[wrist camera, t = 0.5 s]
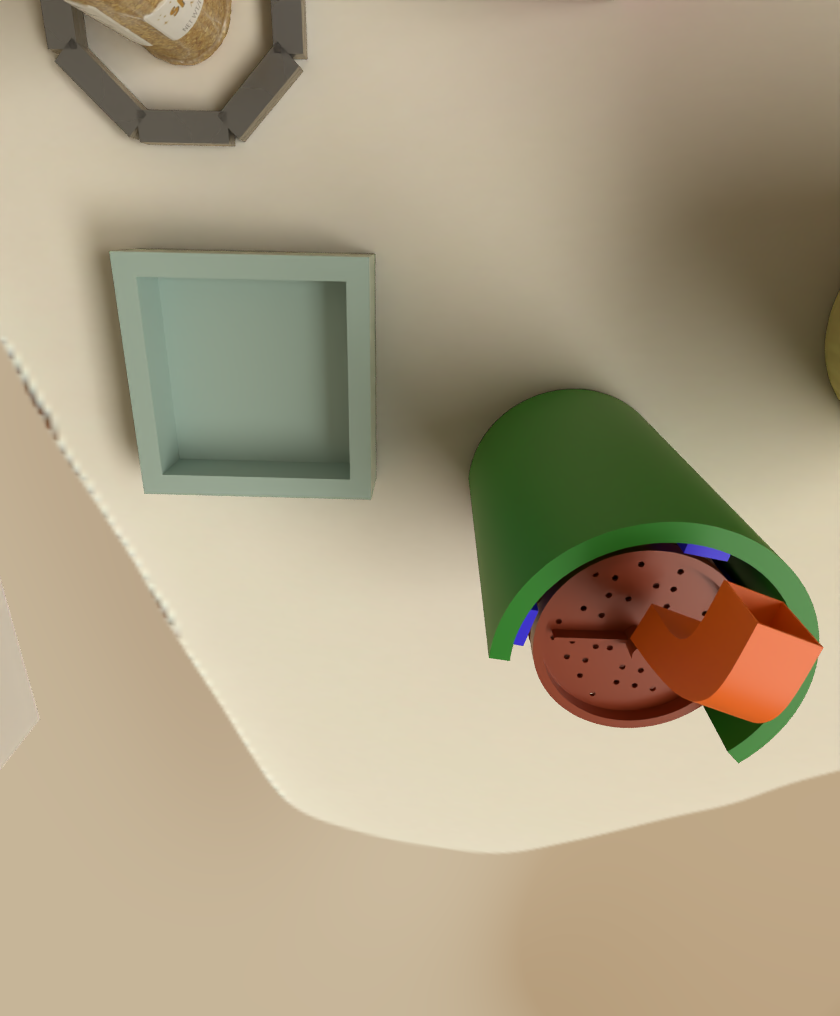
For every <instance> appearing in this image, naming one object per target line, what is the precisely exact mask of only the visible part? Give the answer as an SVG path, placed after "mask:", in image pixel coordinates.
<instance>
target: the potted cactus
mask: <svg viewBox="0 0 840 1016" xmlns="http://www.w3.org/2000/svg"><path fill="white" fill-rule="evenodd" d="M825 362H826V368H827V372H828V377H829V380H830V383H831V385H832V388H833V390H834V392H835V394H836V396H837V398H838V399H839V401H840V291H839V293H838V295H837V297H836V300H835V302H834V305H833V307H832V310H831V313H830V316H829V321H828V325H827V330H826V337H825Z"/></svg>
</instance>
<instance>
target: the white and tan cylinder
mask: <svg viewBox="0 0 840 1016" xmlns="http://www.w3.org/2000/svg"><path fill="white" fill-rule="evenodd" d="M64 1H65V2H67V3H69V4H70V5H72V6H73V7H75V8H77V9H78V10H80V11H82V12H84V13H85V14H87V15H89V16H90V17H92V18H94V19H95V20H97V21H99V22H100V23H102V24H104V25H105V26H107V27H109V28H111V29H112V30H114V31H116V32H117V33H119V34H121V35H122V36H124V37H126V38H128V39H129V40H131V41H133V42H135V43H138V44H141V45H142V46H143V47H145V48H146V49H147V50H148V51H149V52H150V53H151V54H153V55H154V56H156V57H157V58H159V59H162V60H165V61H167V62H169V63H171V64H175V65H177V64H179V65H195V64H198V63H200V62H202V61H204V60H206V59H207V58H209V57H210V56H211V55H212V54H213V53H214V51H216V50H217V49H218V47H219V46H220V45H221V44H222V42H223V39H224V38H225V37H226V34H227V32H228V28H229V24H230V14H231V0H64Z"/></svg>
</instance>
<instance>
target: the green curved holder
mask: <svg viewBox="0 0 840 1016" xmlns="http://www.w3.org/2000/svg"><path fill="white" fill-rule="evenodd" d="M469 486H470V495H471V504H472V512H473V521H474V530H475V539H476V548H477V557H478V565H479V574H480V583H481V592H482V601H483V610H484V618H485V627H486V636H487V645H488V654H489V658H493V659H500V660H507V661H510V656H511V651H512V647H513V644H515V645H521V646H523V645H524V643H525V641H526V638H527V636H529V640H530V643H531V650H532V655H533V660H534V664H535V668H536V671H537V674H538V677H539V679H540V681H541V683H542V685H543V686H544V688H545V689H546V691H547V692H548V693H549V695H550V696H551V697H552V698H553V699H554V700H555V701H556V702H557V703H558V704H559V705H561V706H562V707H563V708H565V709H566V710H567V711H569V712H571V713H572V714H574V715H576V716H578V717H580V718H582V719H584V720H587V721H590V722H593V723H596V724H600V725H605V726H610V727H620V728H637V727H646V726H653V725H657V724H661V723H665V722H668V721H672V720H674V719H677V718H680V717H682V716H684V715H686V714H688V713H690V712H692V711H694V710H696V709H697V708H699V707H700V706H702V705H703V706H704V708H705V710H706V712H707V714H708V716H709V718H710V720H711V721H712V723H713V725H714V727H715V729H716V731H717V733H718V735H719V736H720V738H721V740H722V742H723V744H724V746H725V748H726V750H727V751H728V753H729V754H730V755H731V756H732V757H733V758H734V759H735V760H736V761H737V762H738V763H740V762H741V761H743V760H744V759H746V758H748V757H749V756H751V755H752V754H754V753H755V752H756V751H758V750H759V749H760V748H762V747H763V746H764V745H765V744H766V743H768V742H769V741H770V740H771V739H772V738H773V737H774V736H775V735H776V734H777V733H778V732H779V731H780V730H781V729H782V728H783V727H784V726H785V725H786V724H787V722H788V721H789V720H790V719H791V717H792V716H793V715H794V713H795V712H796V710H797V709H798V707H799V706H800V704H801V702H802V701H803V699H804V697H805V695H806V693H807V691H808V689H809V687H810V684H811V682H812V679H813V676H814V673H815V669H816V665H817V660H818V656H819V654H820V653H821V651H822V649H823V647H822V645H821V644H820V643H819V630H818V622H817V617H816V613H815V610H814V607H813V604H812V602H811V599H810V597H809V595H808V593H807V591H806V589H805V587H804V586H803V584H802V583H801V581H800V579H799V578H798V577H797V576H796V574H795V573H794V572H793V571H792V570H791V568H790V567H789V566H788V565H787V564H786V563H785V562H784V561H783V560H782V559H781V558H780V557H779V556H778V555H777V554H776V553H775V552H774V551H773V550H772V549H771V548H770V547H769V546H768V545H767V544H766V543H765V542H764V541H763V540H762V539H761V538H760V537H759V536H758V535H757V534H756V533H755V532H754V530H753V529H752V528H751V527H750V526H749V525H748V524H747V523H746V522H745V521H744V520H743V519H742V518H741V517H740V516H739V515H738V514H737V513H736V512H735V511H734V510H733V509H732V508H731V507H730V506H729V505H728V504H727V503H726V502H725V501H724V500H723V499H722V498H721V497H720V496H719V495H718V494H717V493H716V492H715V491H714V490H713V489H712V488H711V487H710V486H709V485H708V484H707V482H706V481H705V480H704V479H703V478H702V477H701V476H700V475H699V474H698V473H697V472H696V471H695V470H694V469H693V468H692V467H691V466H690V465H689V464H688V463H687V462H686V461H685V460H684V459H683V458H682V457H681V456H680V455H679V454H678V453H677V452H676V451H675V450H674V449H673V448H672V447H671V446H670V445H669V444H668V443H667V442H666V441H665V440H664V439H663V438H662V437H661V436H660V434H659V433H658V432H657V431H656V430H655V429H654V428H653V427H652V426H651V425H650V424H649V423H648V422H647V421H646V420H645V419H644V418H643V417H642V416H641V415H640V414H639V413H638V412H637V411H635V410H634V409H633V408H632V407H630V406H629V405H627V404H626V403H624V402H622V401H621V400H619V399H617V398H614V397H612V396H610V395H607V394H604V393H600V392H596V391H591V390H584V389H564V390H556V391H551V392H547V393H543V394H540V395H537V396H534V397H532V398H530V399H527V400H525V401H523V402H521V403H520V404H518V405H516V406H515V407H513V408H512V409H510V410H509V411H508V412H506V413H505V414H504V415H503V416H501V417H500V418H499V419H498V420H497V421H496V422H495V423H494V424H493V425H492V427H491V428H490V429H489V430H488V431H487V433H486V434H485V436H484V437H483V439H482V440H481V442H480V444H479V446H478V448H477V450H476V452H475V454H474V457H473V460H472V463H471V467H470V472H469ZM590 693H593V694H590Z"/></svg>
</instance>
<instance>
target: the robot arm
mask: <svg viewBox="0 0 840 1016" xmlns="http://www.w3.org/2000/svg"><path fill="white" fill-rule="evenodd" d="M39 720H40V718H39V714H38V711H37V707H36V703H35V699H34V696H33V692H32V689H31V685H30V682H29V678H28V675H27V671H26V668H25V664H24V660H23V657H22V653H21V650H20V646H19V642H18V639H17V635H16V632H15V628H14V625H13V621H12V617H11V614H10V610H9V607H8V603H7V600H6V596H5V593H4V589H3V586H2V582H1V578H0V770H1V769H2V767H3V766H4V765H5V763H6V762H7V761H8V760H9V758H10V757H11V756H12V754H13V753H14V752H15V751H16V749H17V748H18V747H19V745H20V744H21V743H22V742H23V740H24V739H25V738H26V736H27V735H28V734H29V733H30V731H31V730H32V729H33V728H34V726H35V725H36V723H37V722H38V721H39Z"/></svg>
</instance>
